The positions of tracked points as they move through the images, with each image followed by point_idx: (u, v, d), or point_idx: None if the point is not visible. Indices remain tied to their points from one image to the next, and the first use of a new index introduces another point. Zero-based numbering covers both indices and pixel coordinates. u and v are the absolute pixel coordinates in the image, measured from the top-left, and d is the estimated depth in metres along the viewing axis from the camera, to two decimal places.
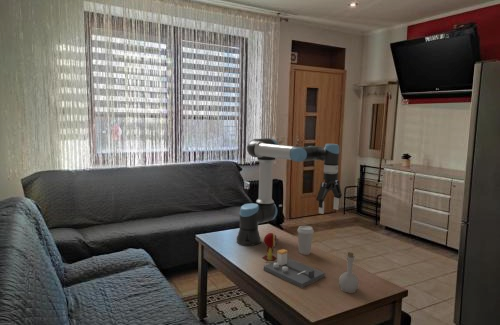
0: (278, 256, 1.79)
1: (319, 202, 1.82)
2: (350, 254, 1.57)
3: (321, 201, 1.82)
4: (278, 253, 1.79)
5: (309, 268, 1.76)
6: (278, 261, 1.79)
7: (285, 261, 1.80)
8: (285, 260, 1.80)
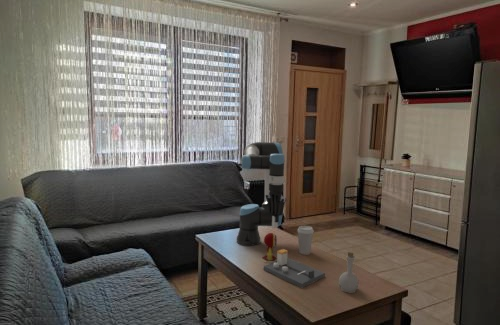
0: (278, 256, 1.79)
1: None
2: (350, 254, 1.57)
3: (271, 214, 1.83)
4: (278, 253, 1.79)
5: (309, 268, 1.76)
6: (278, 261, 1.79)
7: (285, 261, 1.80)
8: (285, 260, 1.80)
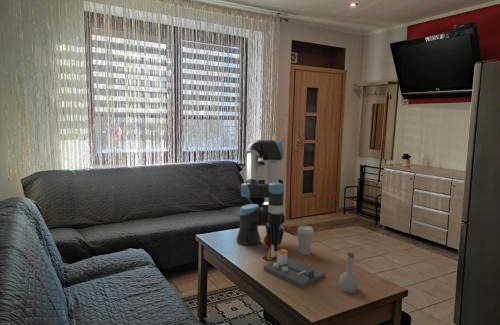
0: (278, 256, 1.79)
1: None
2: (350, 254, 1.57)
3: None
4: (278, 253, 1.79)
5: (309, 268, 1.76)
6: (278, 261, 1.79)
7: (285, 261, 1.80)
8: (285, 260, 1.80)
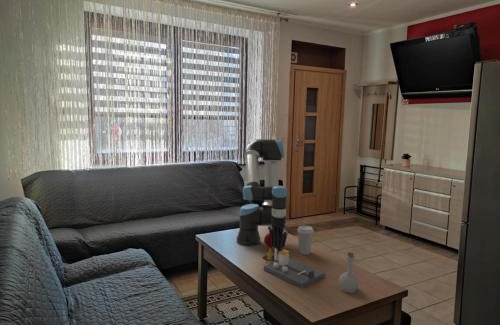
0: (279, 257, 1.78)
1: None
2: (350, 254, 1.57)
3: (274, 246, 1.83)
4: (279, 254, 1.78)
5: (309, 268, 1.76)
6: (279, 262, 1.79)
7: (286, 262, 1.79)
8: (286, 261, 1.79)
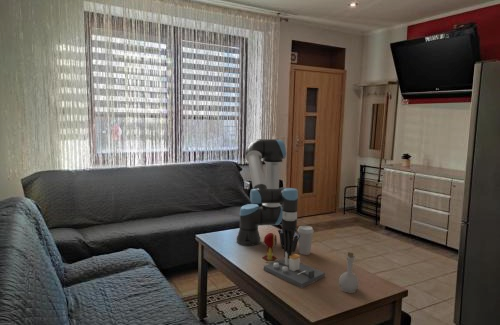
0: (290, 261, 1.73)
1: None
2: (350, 254, 1.57)
3: (284, 250, 1.77)
4: (290, 258, 1.73)
5: (309, 268, 1.76)
6: (290, 266, 1.73)
7: (297, 266, 1.74)
8: (297, 265, 1.74)
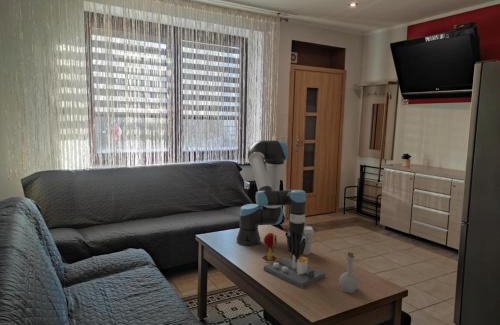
0: (298, 264, 1.69)
1: None
2: (350, 254, 1.56)
3: (291, 253, 1.74)
4: (298, 261, 1.69)
5: (309, 268, 1.76)
6: (298, 270, 1.70)
7: (305, 269, 1.70)
8: (305, 268, 1.70)
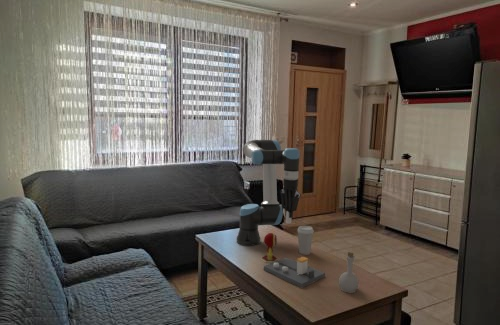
0: (298, 264, 1.69)
1: None
2: (350, 254, 1.57)
3: None
4: (298, 261, 1.69)
5: (309, 268, 1.76)
6: (298, 270, 1.70)
7: (305, 269, 1.70)
8: (305, 268, 1.70)
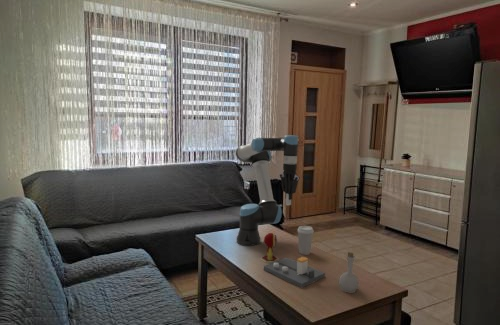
0: (298, 264, 1.69)
1: None
2: (350, 254, 1.57)
3: (285, 192, 1.95)
4: (298, 261, 1.69)
5: (309, 268, 1.76)
6: (298, 270, 1.70)
7: (305, 269, 1.70)
8: (305, 268, 1.70)
